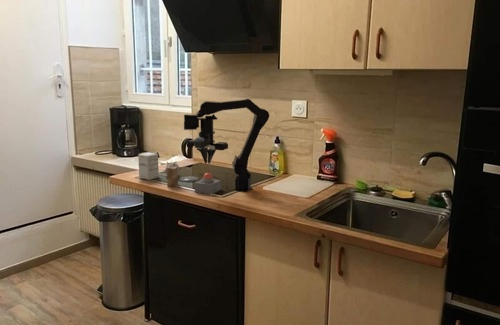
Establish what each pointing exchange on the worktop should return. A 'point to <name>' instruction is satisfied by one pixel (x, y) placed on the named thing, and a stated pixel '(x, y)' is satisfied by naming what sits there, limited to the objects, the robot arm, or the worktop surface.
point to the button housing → (207, 186)
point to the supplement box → (148, 165)
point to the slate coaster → (188, 179)
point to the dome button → (207, 178)
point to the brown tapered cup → (172, 176)
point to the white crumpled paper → (173, 166)
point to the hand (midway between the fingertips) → (207, 163)
